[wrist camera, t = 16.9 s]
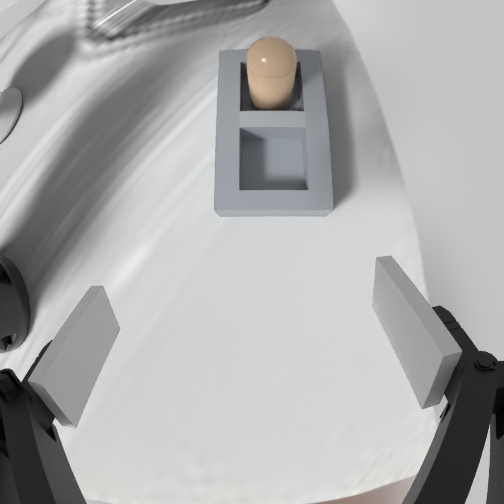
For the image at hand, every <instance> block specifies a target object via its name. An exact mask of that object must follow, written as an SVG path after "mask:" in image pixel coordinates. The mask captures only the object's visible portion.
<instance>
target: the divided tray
mask: <svg viewBox="0 0 504 504" xmlns="http://www.w3.org/2000/svg"><path fill="white" fill-rule="evenodd" d="M248 50H249V49H246V50H224V51H220V58H219V76H218V96H217V119H216V148H215V190H214V211H215V212H216V213H217V214H218V215H219V216H220V217H235V216H326V215H328V214H329V213H330V212H332V211H333V210H334V209H333V186H332V168H331V154H330V140H329V128H328V118H327V107H326V98H325V89H324V80H323V72H322V65H321V57H320V51H312V50H295V52H296V55H297V66H296V73H295V80H294V87H293V94H292V100H291V105H290V107H289V109H288V110H287V111H255V110H254V109H253V108H252V106H251V103H250V94H249V84H248V74H247V64H246V55H247V52H248Z"/></svg>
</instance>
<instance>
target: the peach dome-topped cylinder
mask: <svg viewBox="0 0 504 504" xmlns="http://www.w3.org/2000/svg"><path fill="white" fill-rule="evenodd" d="M246 64H247V74H248V84H249V94H250V103H251V106H252V108H253V109H254V110H255V111H287V110H288V109H289V107H290V105H291V100H292V94H293V87H294V80H295V73H296V66H297V55H296V52H295V50H294V48H293V47H292V46H291V45H290V44H289V43H288V42H287V41H285V40H283V39H281V38H278V37H264V38H261V39H259V40H257V41H256V42H254V43H253V44H252V45H251V47H250V48H249V50H248V52H247V55H246Z"/></svg>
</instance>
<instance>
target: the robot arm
mask: <svg viewBox="0 0 504 504" xmlns="http://www.w3.org/2000/svg"><path fill="white" fill-rule="evenodd" d="M372 307H373V309H374V311H375V313H376V315H377V317H378V319H379V321H380V323H381V325H382V327H383V329H384V331H385V333H386V335H387V336H388V338H389V340H390V342H391V344H392V346H393V349H394V351H395V353H396V355H397V357H398V359H399V361H400V363H401V365H402V367H403V369H404V371H405V373H406V376H407V378H408V380H409V382H410V384H411V386H412V389H413V391H414V393H415V395H416V397H417V400H418V402H419V404H420V406H421V409H424V408H428V407H431V406H434V405H437V404H439V403H440V401H441V399H442V397H443V395H444V394H445V396H446V398H447V400H448V403H447V405H446V407H445V409H444V411H443V412H442V414H441V416H440V418H441V420H440V423H439V426H438V428H437V431H436V433H435V436H434V438H433V441H432V443H431V446H430V448H429V450H428V453H427V455H426V457H425V459H424V461H423V464H422V466H421V468H420V470H419V472H418V474H417V476H416V478H415V480H414V482H413V484H412V486H411V488H410V490H409V492H408V494H407V496H406V497H405V499H404V501H403V503H402V504H465V501H466V499H467V496H468V494H469V491H470V488H471V486H472V483H473V480H474V477H475V474H476V471H477V468H478V465H479V462H480V459H481V455H482V452H483V448H484V445H485V441H486V437H487V433H488V429H489V425H490V467H489V481H488V492H487V501H486V504H504V361H497V359H496V358H495V357H494V356H493V355H492V354H490V353H488V352H485V351H478V349H477V348H476V346H475V345H474V343H473V342H472V341H471V339H470V338H469V337H468V335H467V334H466V333H465V331H464V330H463V329H462V328H461V326H460V325H459V323H458V322H456V319H455V318H454V317H453V315H452V314H451V313H450V312H449V311H448V310H446V309H445V308H443V307H441V306H436V307H431V306H430V305H429V303H428V302H427V301H426V299H425V298H424V297H423V295H422V294H421V293H420V291H419V290H418V289H417V288H416V286H415V285H414V284H413V282H412V281H411V280H410V279H409V277H408V276H407V275H406V274H405V272H404V271H403V270H402V269H401V267H400V266H399V265H398V264H397V262H396V261H395V260H394V259H393V258H392V256H384V257H376V267H375V279H374V290H373V300H372ZM28 326H29V301H28V296H27V291H26V288H25V285H24V282H23V279H22V277H21V275H20V273H19V272H18V270H17V268H16V267H15V266H14V264H13V263H12V262H11V261H9V260H8V259H7V258H5V257H2V256H0V353H6V352H9V351H12V350H15V349H17V348H18V347H19V346H20V345H21V344H22V343H23V341H24V339H25V337H26V334H27V331H28ZM119 331H120V327H119V325H118V322H117V320H116V317H115V315H114V313H113V310H112V308H111V305H110V303H109V300H108V297H107V295H106V292H105V289H104V287H103V286H91V287H90V288H89V290H88V291H87V292H86V294H85V295H84V296H83V298H82V299H81V300H80V302H79V303H78V305H77V306H76V307H75V309H74V310H73V312H72V313H71V314H70V316H69V317H68V319H67V320H66V322H65V323H64V325H63V326H62V327H61V329H60V330H59V332H58V333H57V335H56V336H55V338H54V339H53V340H51V341H50V342H49V343H48V344H47V345H46V346H44V347H43V349H42V350H41V352H40V354H39V357H37V358H36V360H35V361H34V362H35V363H33V364H32V366H31V368H30V369H29V371H28V372H27V374H26V376H25V377H24V379H23V381H22V382H20V380H19V379H18V378H17V376H16V375H15V373H14V372H13V370H11V369H3V370H0V504H87V503H86V501H85V499H84V497H83V495H82V493H81V490H80V488H79V486H78V484H77V481H76V479H75V477H74V474H73V472H72V470H71V467H70V465H69V462H68V460H67V457H66V454H65V452H64V449H63V446H62V444H61V441H60V438H59V435H58V432H57V429H56V427H55V425H54V424H53V420H54V418H56V419H57V420H58V421H59V423H60V424H61V425H62V426H66V427H71V428H76V427H77V425H78V422H79V420H80V417H81V415H82V413H83V410H84V408H85V405H86V403H87V401H88V398H89V396H90V394H91V391H92V389H93V387H94V385H95V382H96V380H97V378H98V376H99V373H100V371H101V369H102V367H103V365H104V362H105V360H106V358H107V356H108V354H109V352H110V350H111V348H112V345H113V343H114V341H115V339H116V337H117V335H118V333H119Z"/></svg>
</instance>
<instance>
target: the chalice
mask: <svg viewBox="0 0 504 504" xmlns="http://www.w3.org/2000/svg"><path fill="white" fill-rule="evenodd" d="M21 105H22V94H21V91H20V90H19V89H18V88H16V87H11V88H8V89H6V90H4V91H3V92H1V93H0V143H1V142H2V141H3V140H4V139H5V138H6V137H7V135H8V134H9V133H10V131H11V130H12V128H13V126H14V124H15V123H16V120H17V118H18V116H19V113H20V110H21Z"/></svg>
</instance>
